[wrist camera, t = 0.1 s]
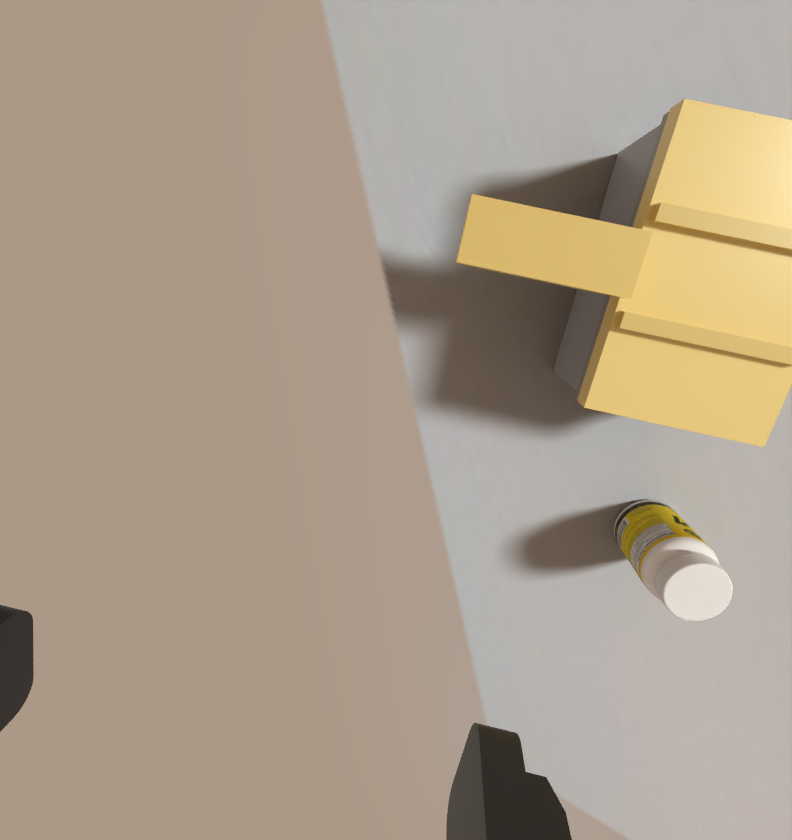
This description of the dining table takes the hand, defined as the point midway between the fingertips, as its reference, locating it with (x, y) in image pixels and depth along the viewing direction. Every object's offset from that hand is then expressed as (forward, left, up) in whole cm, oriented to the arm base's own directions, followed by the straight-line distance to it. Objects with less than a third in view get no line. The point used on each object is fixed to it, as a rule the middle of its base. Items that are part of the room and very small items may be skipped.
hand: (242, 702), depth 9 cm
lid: (-10, +11, -21) cm, 26 cm away
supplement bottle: (+7, +21, -29) cm, 37 cm away
